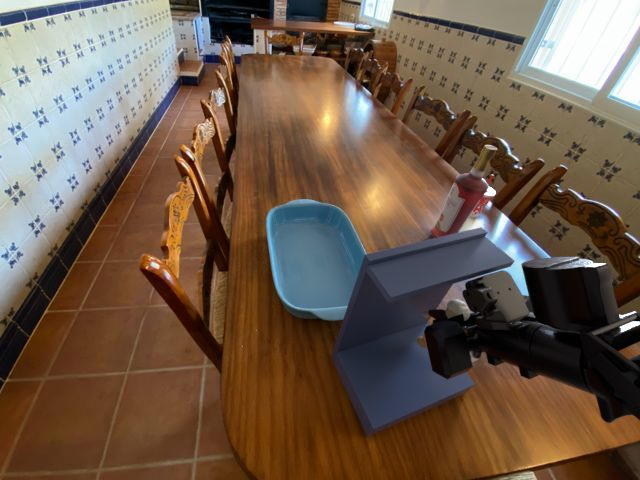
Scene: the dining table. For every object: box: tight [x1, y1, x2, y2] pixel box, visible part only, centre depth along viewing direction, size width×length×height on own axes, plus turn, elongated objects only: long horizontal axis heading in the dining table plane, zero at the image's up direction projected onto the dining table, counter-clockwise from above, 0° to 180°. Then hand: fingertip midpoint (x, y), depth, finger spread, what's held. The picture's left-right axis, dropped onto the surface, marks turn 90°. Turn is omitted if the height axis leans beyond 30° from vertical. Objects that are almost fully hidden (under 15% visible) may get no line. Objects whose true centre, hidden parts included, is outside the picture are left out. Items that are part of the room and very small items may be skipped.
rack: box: [330, 226, 515, 438], centre depth 45 cm, size 13×20×28 cm, turn 110°
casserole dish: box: [265, 198, 368, 322], centre depth 70 cm, size 37×22×7 cm, turn 9°
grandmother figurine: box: [416, 298, 471, 351], centre depth 47 cm, size 8×4×13 cm, turn 51°
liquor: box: [430, 144, 498, 238], centre depth 75 cm, size 7×7×28 cm
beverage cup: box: [469, 174, 497, 218], centre depth 90 cm, size 6×6×14 cm
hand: (441, 320), depth 48 cm, fingers closed on grandmother figurine, 3 cm apart
